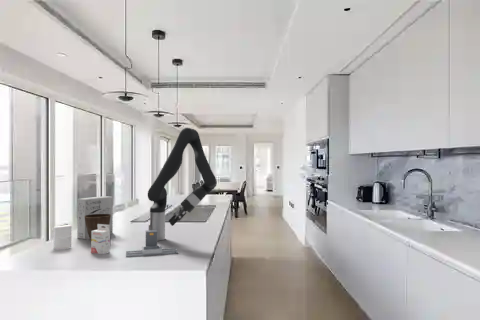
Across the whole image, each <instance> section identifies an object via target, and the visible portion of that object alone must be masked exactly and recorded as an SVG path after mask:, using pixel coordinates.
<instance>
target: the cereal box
mask: <svg viewBox="0 0 480 320" xmlns="http://www.w3.org/2000/svg"><path fill="white" fill-rule="evenodd" d="M113 199H114V198H113V196H107V195H105V196H104V195H103V196H93V197H82V198H77V233H76V234H77V239H82V240H87V239H90V238H89V235H88V232H87V228H86V224H85V217H84V216H86V215H92V214H110V215H111V218H110V224H109V229H110V235H111V234H113V230H114V229H113V227H114V226H113V224H114V223H113V222H114V221H113V218H114V217H113V216H114V215H113V214H114V213H113V211H114V210H113V209H114V207H113V206H114V205H113V204H114V202H113V201H114V200H113Z"/></svg>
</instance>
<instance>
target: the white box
mask: <svg viewBox="0 0 480 320" xmlns="http://www.w3.org/2000/svg"><path fill="white" fill-rule="evenodd" d="M72 231H73V230H72V224H66V225H59V226H58V225H57V226H53V249H54V250H67V249H70V248H72Z"/></svg>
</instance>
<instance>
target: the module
mask: <svg viewBox="0 0 480 320" xmlns="http://www.w3.org/2000/svg"><path fill="white" fill-rule="evenodd" d="M147 246H158V241H157V230H149V229H148V230H145V247H147Z"/></svg>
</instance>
